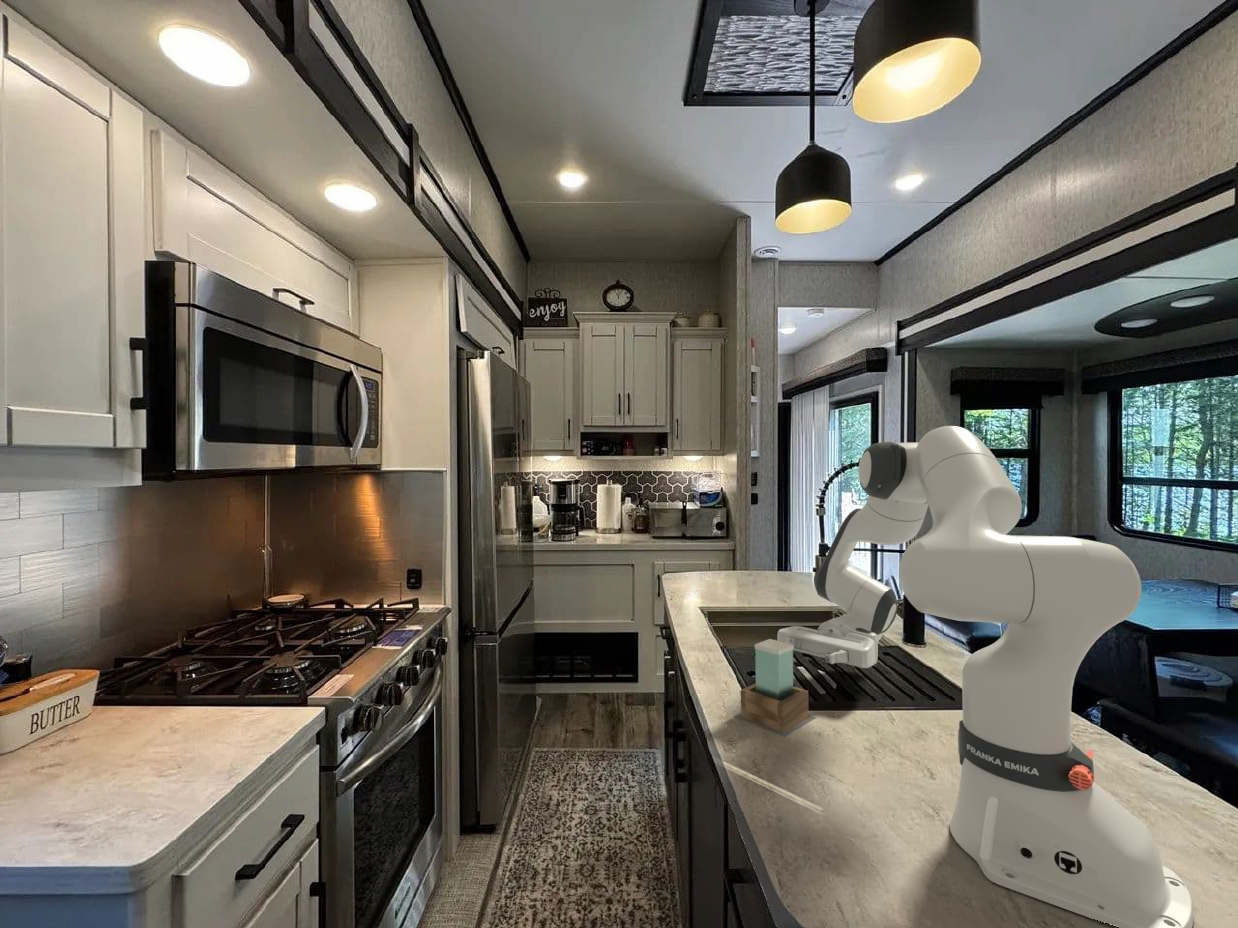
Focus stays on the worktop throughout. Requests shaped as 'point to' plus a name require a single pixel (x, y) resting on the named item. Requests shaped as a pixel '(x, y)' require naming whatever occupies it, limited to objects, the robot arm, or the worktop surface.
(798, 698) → the open wooden box
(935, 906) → the worktop surface
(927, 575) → the robot arm
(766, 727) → the mat
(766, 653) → the tea tin
